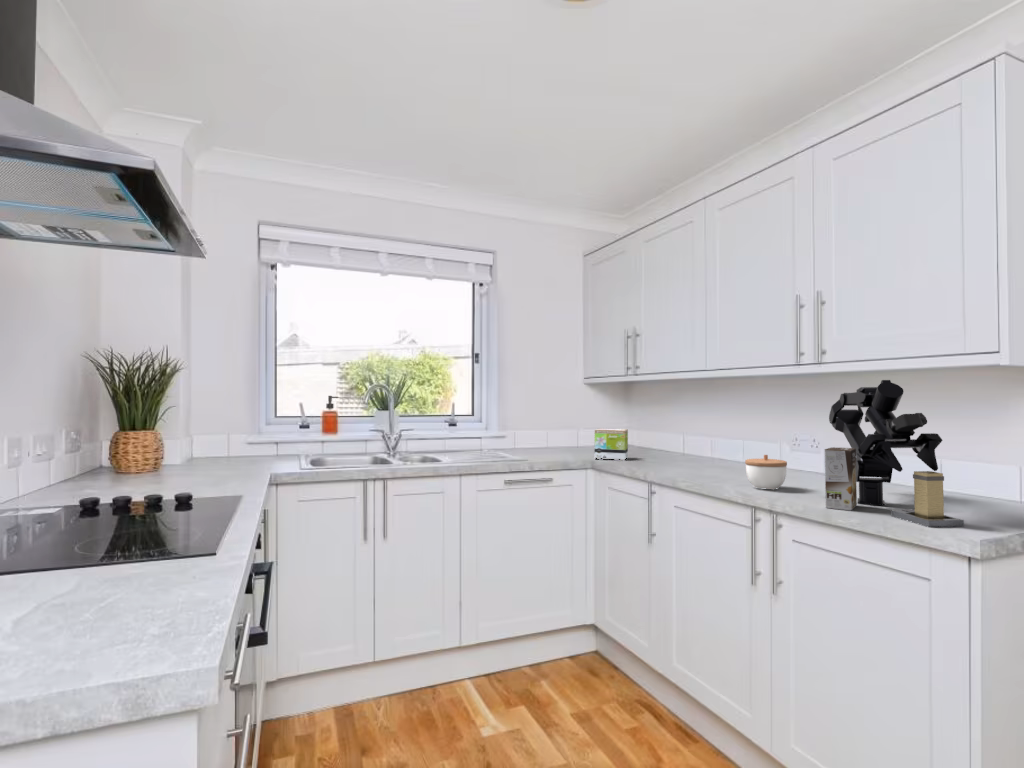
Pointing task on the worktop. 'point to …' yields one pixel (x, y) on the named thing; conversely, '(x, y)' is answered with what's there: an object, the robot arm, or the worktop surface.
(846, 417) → the robot arm
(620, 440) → the tea box
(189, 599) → the worktop surface
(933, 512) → the post
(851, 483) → the coffee box
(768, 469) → the lidded bowl
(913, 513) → the rail plate
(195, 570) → the worktop surface
